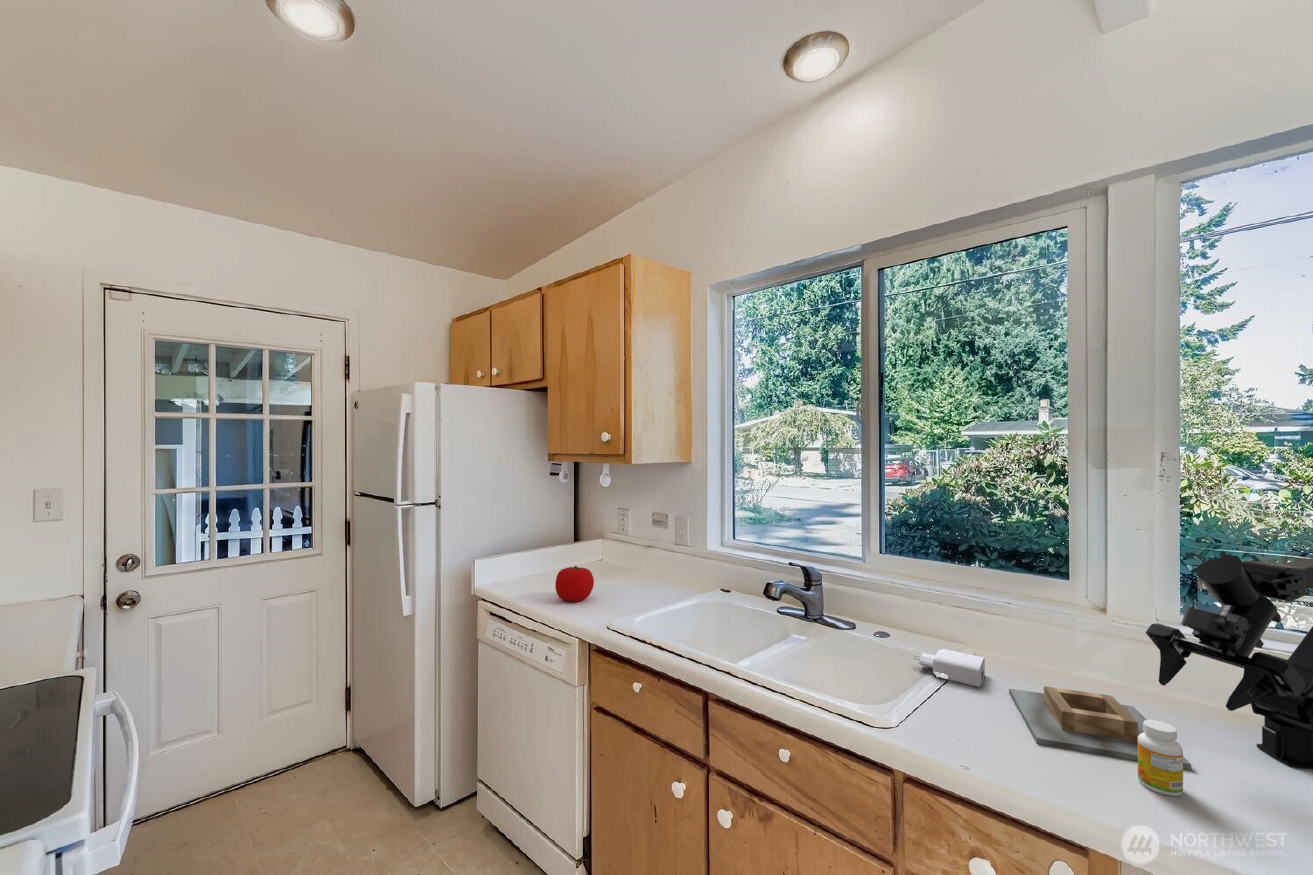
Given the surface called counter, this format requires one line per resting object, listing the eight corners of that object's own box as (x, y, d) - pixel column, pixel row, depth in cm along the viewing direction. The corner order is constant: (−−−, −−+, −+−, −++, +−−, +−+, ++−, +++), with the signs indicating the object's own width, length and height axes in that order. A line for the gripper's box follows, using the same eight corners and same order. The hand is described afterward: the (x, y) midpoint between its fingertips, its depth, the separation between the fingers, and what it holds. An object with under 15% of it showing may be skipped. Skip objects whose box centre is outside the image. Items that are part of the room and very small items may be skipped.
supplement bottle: (1136, 772, 92) (1136, 713, 92) (1181, 785, 89) (1181, 724, 89) (1138, 787, 88) (1138, 726, 88) (1185, 801, 84) (1184, 738, 85)
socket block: (1133, 711, 113) (1133, 689, 113) (1191, 769, 93) (1190, 743, 93) (1008, 692, 121) (1008, 672, 121) (1036, 743, 101) (1036, 718, 101)
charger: (916, 660, 140) (985, 675, 131) (907, 672, 132) (979, 689, 123) (916, 641, 140) (985, 655, 131) (907, 652, 133) (979, 668, 123)
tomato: (548, 603, 187) (548, 569, 187) (566, 593, 200) (566, 560, 200) (582, 606, 183) (583, 571, 183) (598, 596, 196) (599, 563, 196)
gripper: (1152, 578, 101) (1107, 643, 98) (1292, 607, 83) (1241, 689, 80) (1184, 618, 103) (1140, 683, 100) (1327, 655, 85) (1278, 736, 82)
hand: (1193, 695), depth 90 cm, fingers open, 9 cm apart
